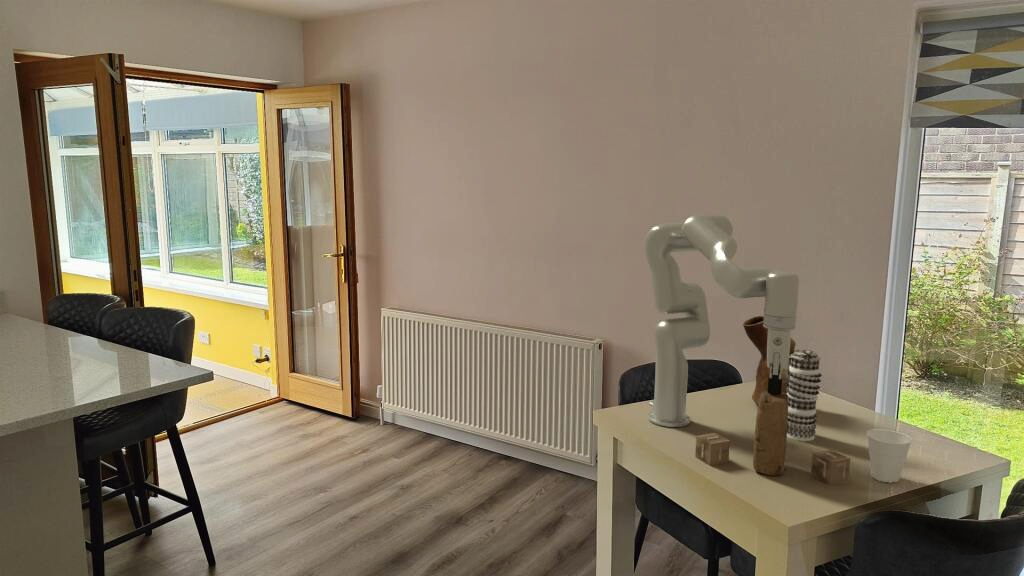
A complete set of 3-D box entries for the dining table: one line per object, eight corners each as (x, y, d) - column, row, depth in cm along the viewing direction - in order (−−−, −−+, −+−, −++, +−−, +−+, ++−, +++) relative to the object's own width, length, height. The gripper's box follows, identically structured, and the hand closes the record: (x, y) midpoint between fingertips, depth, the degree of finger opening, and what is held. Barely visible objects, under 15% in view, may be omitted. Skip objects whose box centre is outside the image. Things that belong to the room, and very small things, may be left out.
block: (782, 479, 169) (788, 401, 166) (750, 473, 173) (755, 397, 169) (786, 463, 179) (792, 389, 176) (756, 458, 182) (761, 385, 179)
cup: (888, 490, 164) (893, 446, 162) (853, 473, 173) (857, 432, 171) (917, 483, 168) (921, 440, 166) (881, 467, 177) (885, 426, 175)
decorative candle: (800, 443, 193) (807, 357, 189) (775, 432, 201) (781, 349, 197) (823, 438, 197) (830, 353, 193) (797, 428, 205) (804, 346, 201)
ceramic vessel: (814, 415, 216) (822, 322, 211) (744, 414, 216) (751, 321, 212) (795, 399, 231) (802, 312, 227) (730, 398, 232) (735, 311, 227)
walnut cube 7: (810, 475, 172) (812, 452, 171) (828, 472, 174) (830, 449, 173) (830, 486, 166) (832, 461, 165) (848, 482, 169) (851, 458, 168)
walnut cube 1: (694, 457, 183) (695, 435, 182) (713, 454, 185) (714, 432, 184) (709, 466, 177) (710, 443, 176) (728, 462, 179) (730, 440, 178)
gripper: (795, 329, 161) (789, 404, 164) (796, 317, 175) (790, 387, 178) (761, 326, 164) (756, 399, 167) (764, 315, 178) (760, 383, 181)
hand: (774, 393), depth 173 cm, fingers closed
